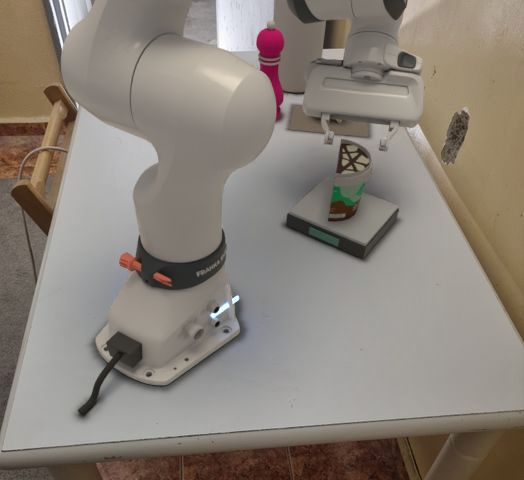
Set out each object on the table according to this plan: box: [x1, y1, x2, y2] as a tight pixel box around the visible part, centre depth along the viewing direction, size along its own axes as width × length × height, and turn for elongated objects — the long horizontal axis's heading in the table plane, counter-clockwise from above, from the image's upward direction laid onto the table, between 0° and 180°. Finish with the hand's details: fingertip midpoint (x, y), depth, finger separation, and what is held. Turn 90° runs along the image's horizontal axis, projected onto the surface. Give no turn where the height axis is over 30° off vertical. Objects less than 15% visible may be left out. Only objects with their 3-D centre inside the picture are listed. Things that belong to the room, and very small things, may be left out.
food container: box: [328, 138, 374, 222], centre depth 91 cm, size 12×6×10 cm, turn 170°
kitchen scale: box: [285, 177, 400, 260], centre depth 96 cm, size 14×16×3 cm
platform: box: [288, 105, 369, 138], centre depth 119 cm, size 12×18×7 cm, turn 83°
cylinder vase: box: [272, 0, 327, 94], centre depth 124 cm, size 12×12×25 cm
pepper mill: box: [255, 19, 285, 121], centre depth 114 cm, size 7×7×20 cm
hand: (355, 146), depth 89 cm, fingers open, 8 cm apart
